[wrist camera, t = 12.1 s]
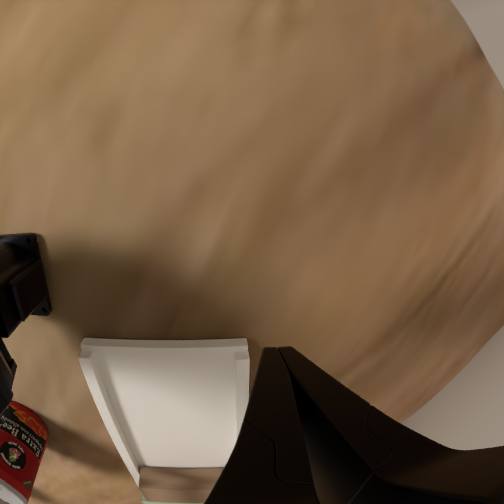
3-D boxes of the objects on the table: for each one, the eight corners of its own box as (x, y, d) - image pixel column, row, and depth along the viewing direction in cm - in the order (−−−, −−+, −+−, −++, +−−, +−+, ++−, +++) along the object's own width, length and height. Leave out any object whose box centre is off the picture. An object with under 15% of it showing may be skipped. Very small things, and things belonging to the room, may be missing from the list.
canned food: (60, 431, 24) (36, 507, 14) (36, 445, 25) (15, 509, 15) (7, 388, 22) (-31, 460, 11) (-9, 408, 23) (-40, 469, 12)
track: (143, 481, 29) (142, 506, 25) (84, 337, 21) (67, 368, 17) (244, 482, 30) (248, 506, 27) (246, 338, 23) (253, 371, 19)
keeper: (148, 481, 27) (147, 500, 24) (140, 466, 26) (138, 487, 23) (234, 481, 28) (237, 501, 25) (234, 467, 27) (236, 488, 24)
